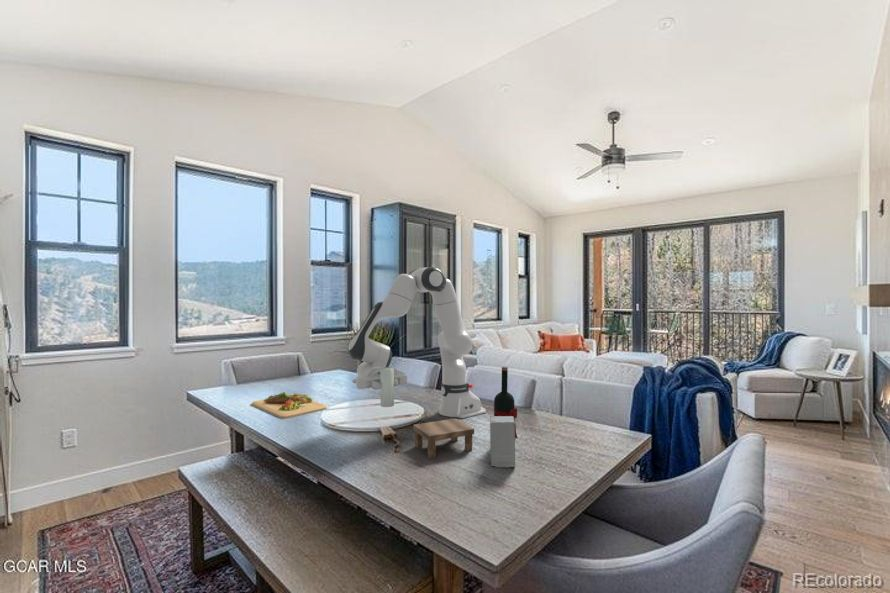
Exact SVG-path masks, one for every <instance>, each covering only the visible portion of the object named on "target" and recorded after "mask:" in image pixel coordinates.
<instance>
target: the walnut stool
mask: <svg viewBox="0 0 890 593" xmlns="http://www.w3.org/2000/svg"><path fill="white" fill-rule="evenodd" d="M413 431H414V432H415V433H414V434H415V435H414V436H415V438H414V440H415V442H414V444H415V445H414V447H416V448H417V449H418V448H422V447H423V438H424V439H425V440H426V441H427V457H428V458H429V459H434V458H436V442H437V441H442V440H443V441H444V440H449V439H450V441H451V442H457V441H459V440H458V438H460V437H464V450H465V451H466V452H471V451H473V435H475V428H473V427H472V426H471V425H468V424H467V423H465V422H463V421H461V420H459V419H457V417H454V418H450V419H442V420H436V421H429V422H423V423H417V424H413Z"/></svg>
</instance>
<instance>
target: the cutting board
mask: <svg viewBox="0 0 890 593" xmlns="http://www.w3.org/2000/svg"><path fill="white" fill-rule="evenodd" d="M251 406H252V407H255V408H258V409H259V410H262V411H264V412H267V413H268V414H270V415H273V416H275V417H277V418H279V419H292V418H295V417H299V416H305V415H308V414H309V415H310V414H313V413H318V412H321V411H326V410H328V405H326V404H324V403H320V402H317V401H314V400H313V399H312V398H311V397H309V396H308V394H307V393H304V394H300V393H297V392H296V393H293V394H286V391H282V392H280V393H278V394H274V395H270V396H268V397H266V398H264V399H260V400H254V401H252V402H251Z"/></svg>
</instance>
